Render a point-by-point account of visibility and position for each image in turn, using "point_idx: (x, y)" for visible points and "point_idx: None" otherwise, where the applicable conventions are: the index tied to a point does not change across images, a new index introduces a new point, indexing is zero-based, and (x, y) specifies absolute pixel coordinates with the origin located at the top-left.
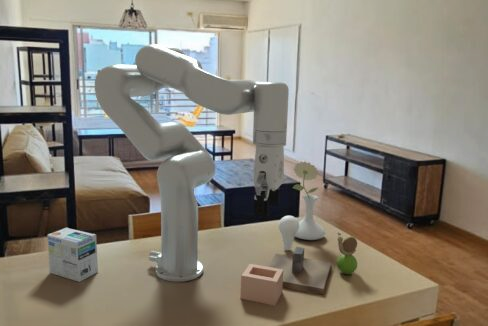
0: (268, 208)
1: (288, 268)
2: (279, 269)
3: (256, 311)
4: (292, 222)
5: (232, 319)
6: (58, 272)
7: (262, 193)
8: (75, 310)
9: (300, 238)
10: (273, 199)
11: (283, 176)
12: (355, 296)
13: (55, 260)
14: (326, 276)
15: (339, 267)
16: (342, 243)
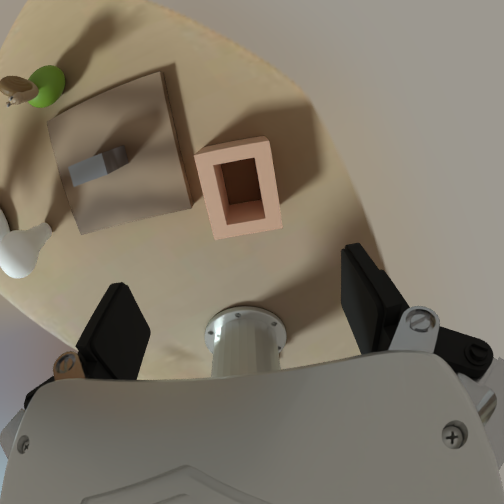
0: (371, 270)
1: (117, 178)
2: (199, 164)
3: (304, 159)
4: (12, 249)
5: (348, 187)
6: None
7: (488, 351)
8: None
9: (9, 229)
10: (125, 322)
11: (35, 419)
12: (137, 24)
13: None
14: (103, 93)
15: (61, 92)
16: (23, 92)
